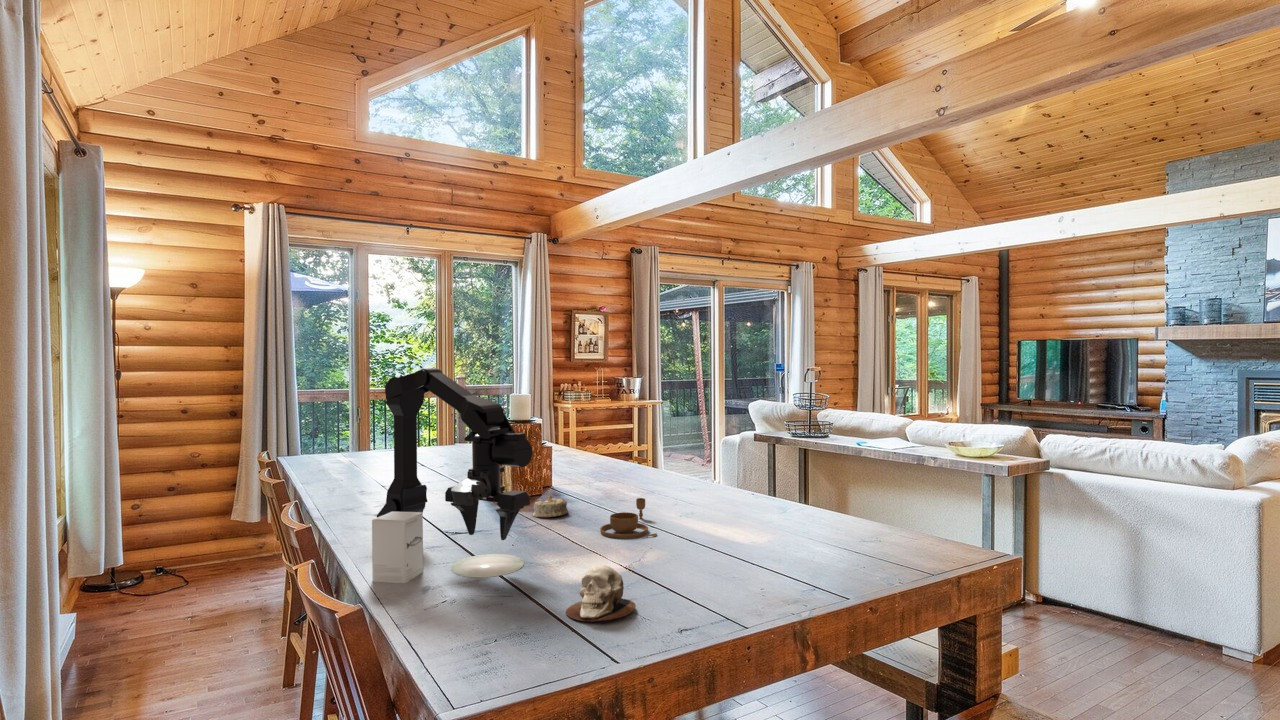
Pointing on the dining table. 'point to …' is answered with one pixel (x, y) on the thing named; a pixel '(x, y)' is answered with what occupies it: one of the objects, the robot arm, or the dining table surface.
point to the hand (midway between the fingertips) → (487, 537)
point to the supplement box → (397, 547)
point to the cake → (550, 508)
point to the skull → (601, 596)
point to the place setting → (627, 523)
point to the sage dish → (487, 565)
